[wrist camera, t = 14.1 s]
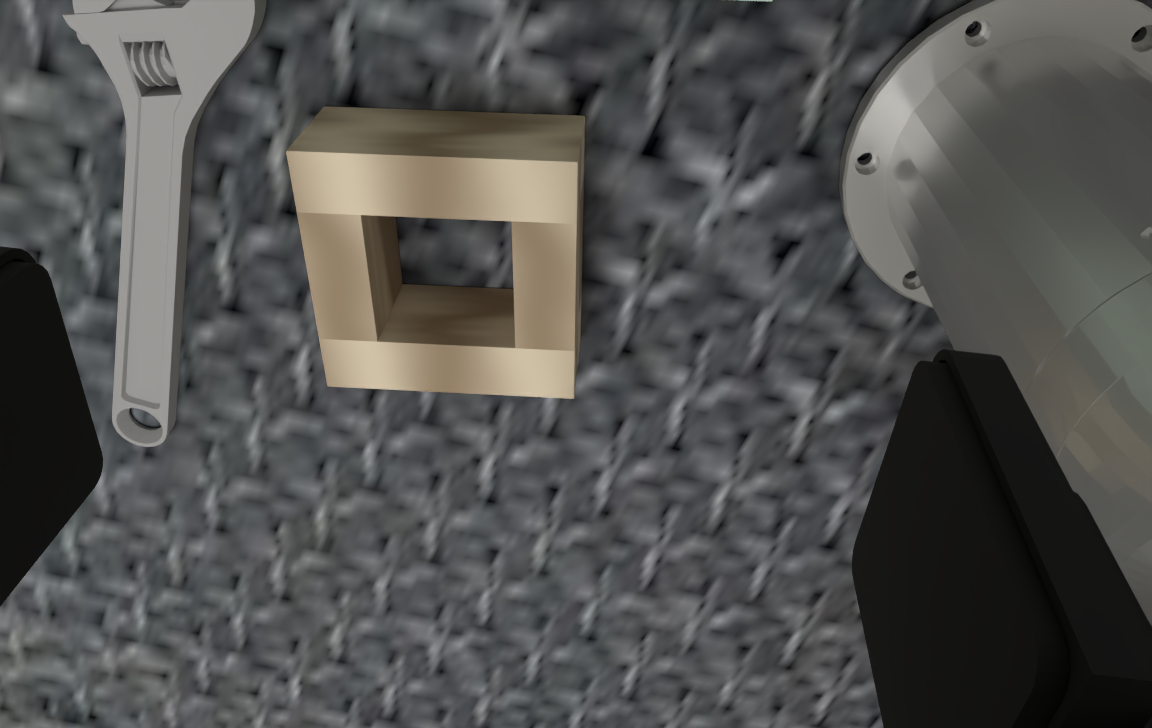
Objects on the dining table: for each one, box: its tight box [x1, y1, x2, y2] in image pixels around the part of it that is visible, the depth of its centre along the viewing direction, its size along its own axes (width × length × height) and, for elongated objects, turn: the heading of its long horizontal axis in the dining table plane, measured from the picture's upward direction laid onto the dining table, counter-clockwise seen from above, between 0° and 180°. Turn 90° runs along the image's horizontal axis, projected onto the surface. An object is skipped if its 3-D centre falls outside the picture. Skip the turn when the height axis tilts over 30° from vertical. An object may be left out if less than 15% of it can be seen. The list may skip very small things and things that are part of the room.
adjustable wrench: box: [63, 0, 266, 447], centre depth 38 cm, size 25×6×2 cm, turn 157°
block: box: [286, 106, 585, 399], centre depth 36 cm, size 10×10×4 cm
